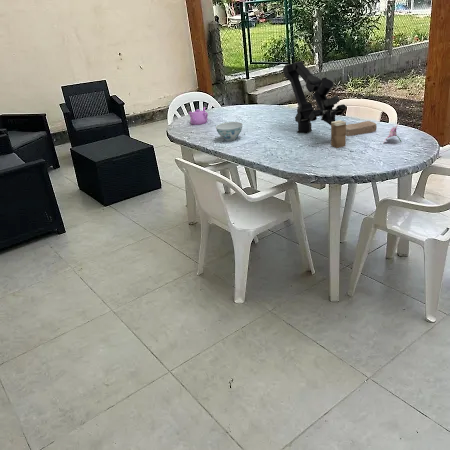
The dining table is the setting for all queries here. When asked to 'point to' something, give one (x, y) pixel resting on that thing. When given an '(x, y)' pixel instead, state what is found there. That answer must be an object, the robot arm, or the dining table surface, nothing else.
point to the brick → (360, 128)
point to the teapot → (198, 117)
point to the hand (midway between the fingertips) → (334, 126)
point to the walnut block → (338, 133)
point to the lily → (393, 132)
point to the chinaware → (229, 130)
